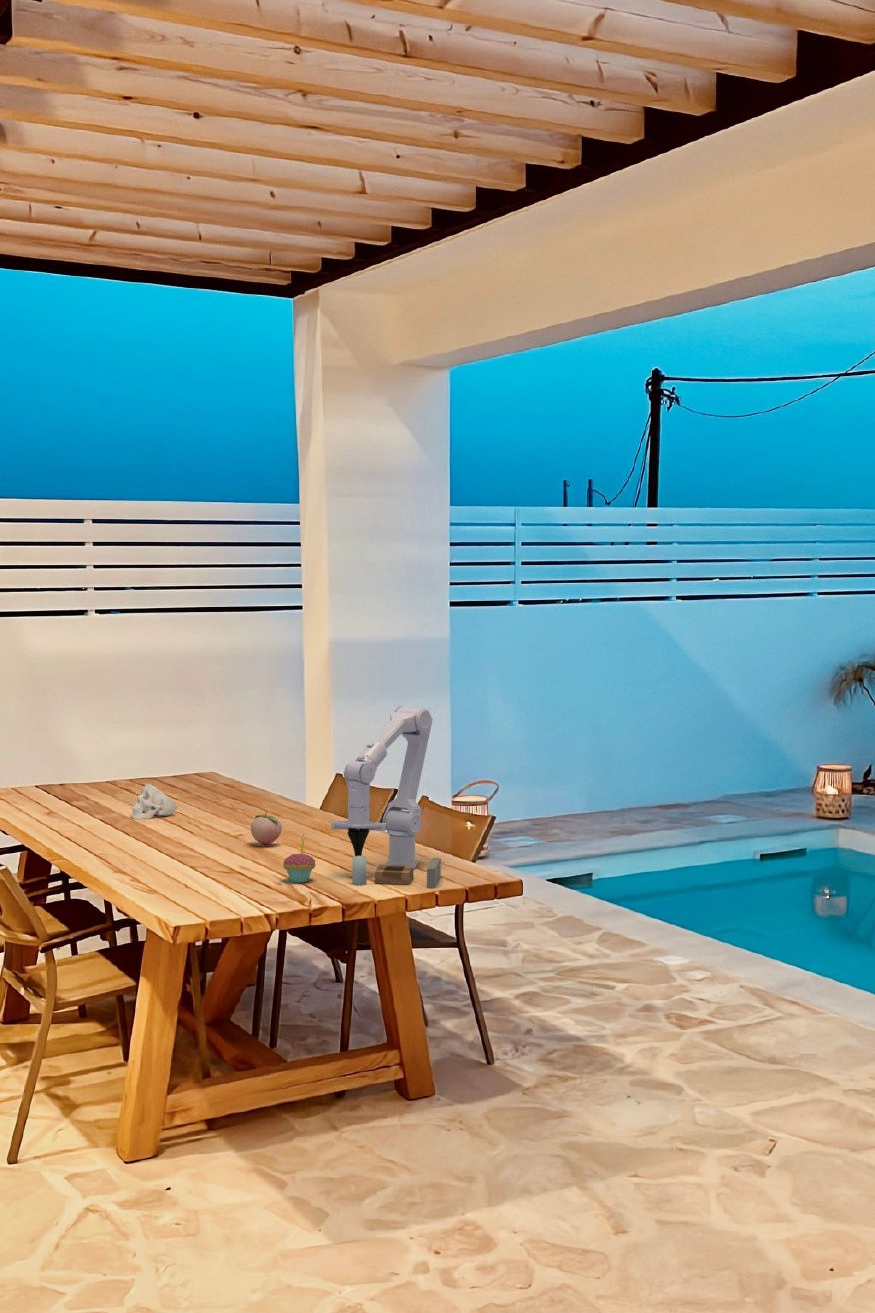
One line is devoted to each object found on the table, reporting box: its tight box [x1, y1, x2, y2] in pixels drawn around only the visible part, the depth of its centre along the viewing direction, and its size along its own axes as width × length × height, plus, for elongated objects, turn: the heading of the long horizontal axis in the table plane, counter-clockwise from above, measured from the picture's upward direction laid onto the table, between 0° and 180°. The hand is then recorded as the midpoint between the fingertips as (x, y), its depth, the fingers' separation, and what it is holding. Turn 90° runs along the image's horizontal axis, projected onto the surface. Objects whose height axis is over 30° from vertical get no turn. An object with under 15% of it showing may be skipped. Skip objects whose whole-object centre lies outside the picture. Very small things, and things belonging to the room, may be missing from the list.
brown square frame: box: [374, 864, 415, 885], centre depth 349 cm, size 9×9×3 cm
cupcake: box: [282, 834, 316, 884], centre depth 347 cm, size 9×8×12 cm
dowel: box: [351, 855, 367, 886], centre depth 344 cm, size 4×4×7 cm
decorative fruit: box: [250, 812, 283, 846], centre depth 393 cm, size 9×8×10 cm
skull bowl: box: [131, 783, 178, 820], centre depth 441 cm, size 10×14×12 cm
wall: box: [426, 857, 442, 889], centre depth 347 cm, size 14×2×5 cm, turn 174°
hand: (358, 857), depth 352 cm, fingers closed
